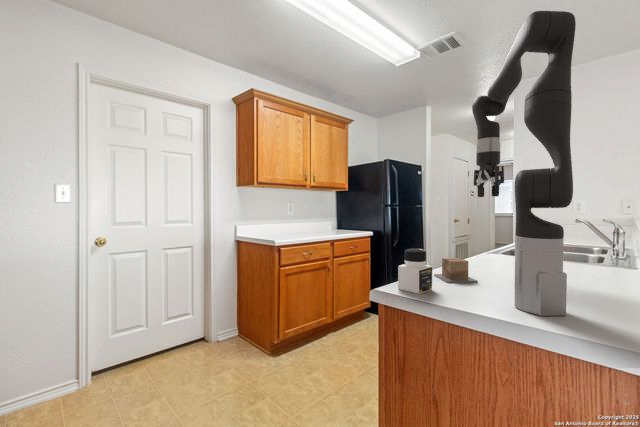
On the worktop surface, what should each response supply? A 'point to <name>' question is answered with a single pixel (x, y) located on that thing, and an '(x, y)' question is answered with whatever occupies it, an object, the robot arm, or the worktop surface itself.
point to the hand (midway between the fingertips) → (487, 196)
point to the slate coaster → (469, 280)
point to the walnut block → (454, 268)
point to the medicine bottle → (415, 272)
